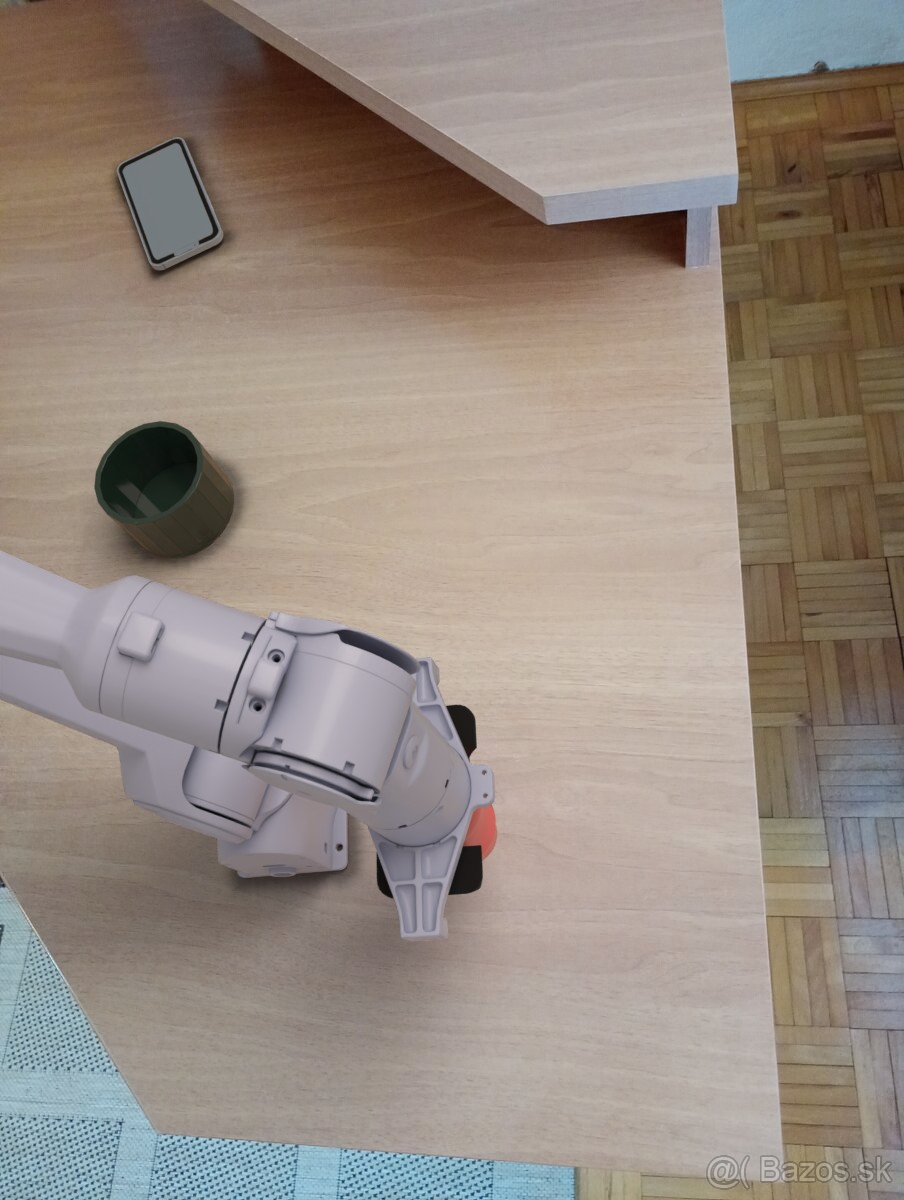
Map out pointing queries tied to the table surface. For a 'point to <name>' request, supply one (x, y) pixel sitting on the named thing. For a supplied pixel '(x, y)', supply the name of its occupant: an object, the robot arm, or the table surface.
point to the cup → (164, 489)
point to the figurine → (482, 830)
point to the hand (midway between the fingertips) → (455, 824)
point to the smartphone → (169, 204)
